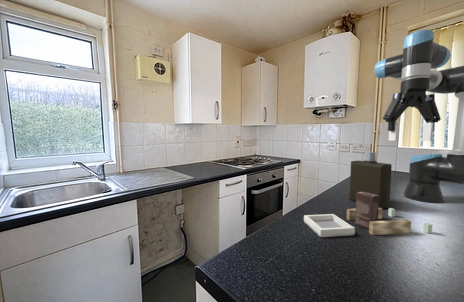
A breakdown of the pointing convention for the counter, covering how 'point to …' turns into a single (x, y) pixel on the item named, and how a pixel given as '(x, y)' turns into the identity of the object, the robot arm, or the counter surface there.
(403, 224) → the channel
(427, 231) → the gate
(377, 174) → the bottle
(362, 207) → the box
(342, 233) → the tray
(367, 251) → the counter surface
